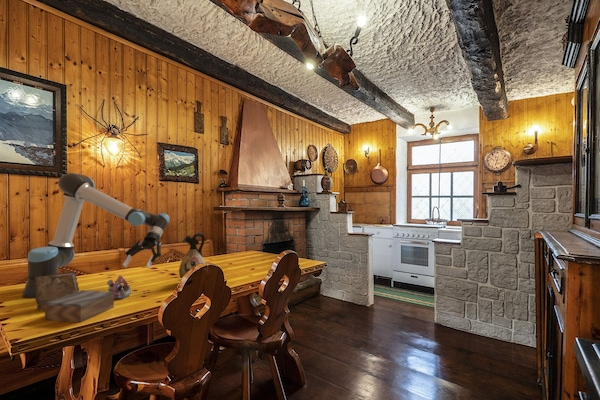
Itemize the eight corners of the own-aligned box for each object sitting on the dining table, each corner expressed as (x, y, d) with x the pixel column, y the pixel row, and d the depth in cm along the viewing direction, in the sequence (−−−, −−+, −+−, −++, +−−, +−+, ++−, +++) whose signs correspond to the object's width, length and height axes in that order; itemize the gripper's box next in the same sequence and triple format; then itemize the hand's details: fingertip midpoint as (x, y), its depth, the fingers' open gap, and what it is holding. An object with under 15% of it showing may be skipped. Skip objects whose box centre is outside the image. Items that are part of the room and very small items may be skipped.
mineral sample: (80, 303, 136) (81, 271, 136) (78, 306, 132) (78, 273, 132) (35, 308, 130) (35, 274, 130) (30, 311, 126) (31, 276, 126)
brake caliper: (125, 296, 140) (111, 276, 141) (107, 309, 140) (93, 289, 141) (139, 289, 151) (126, 270, 152) (123, 302, 152) (110, 283, 152)
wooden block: (44, 320, 116) (45, 302, 117) (81, 305, 133) (82, 290, 133) (80, 322, 114) (80, 304, 115) (113, 307, 131) (113, 291, 131)
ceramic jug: (179, 288, 162) (179, 234, 162) (178, 281, 176) (179, 232, 177) (210, 285, 169) (211, 233, 169) (208, 279, 183) (208, 231, 183)
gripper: (176, 239, 173) (160, 271, 158) (137, 239, 176) (118, 269, 161) (171, 231, 168) (154, 263, 152) (131, 231, 171) (111, 261, 156)
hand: (136, 266), depth 157 cm, fingers open, 13 cm apart
